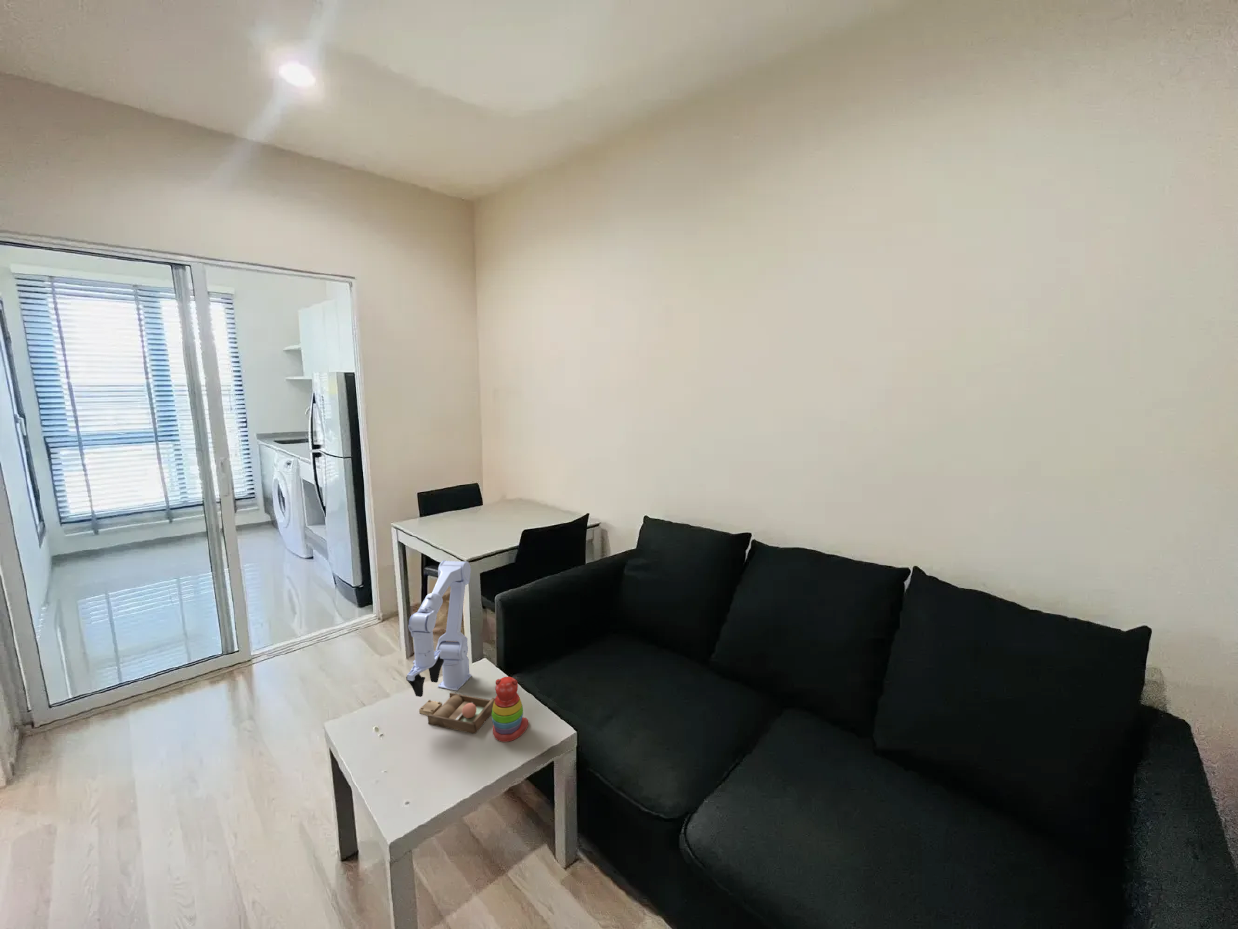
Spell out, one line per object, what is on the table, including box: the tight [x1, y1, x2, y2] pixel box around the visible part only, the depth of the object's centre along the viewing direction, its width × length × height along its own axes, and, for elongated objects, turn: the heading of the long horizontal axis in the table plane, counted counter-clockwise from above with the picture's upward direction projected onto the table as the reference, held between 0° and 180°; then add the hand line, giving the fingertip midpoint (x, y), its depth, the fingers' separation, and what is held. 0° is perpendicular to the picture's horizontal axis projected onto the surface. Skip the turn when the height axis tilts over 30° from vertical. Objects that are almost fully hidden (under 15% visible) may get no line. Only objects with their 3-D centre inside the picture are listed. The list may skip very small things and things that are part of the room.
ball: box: [462, 703, 476, 718], centre depth 158 cm, size 4×4×4 cm
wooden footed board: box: [419, 699, 443, 716], centre depth 162 cm, size 5×5×2 cm
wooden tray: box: [427, 692, 496, 735], centre depth 159 cm, size 12×17×7 cm
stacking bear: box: [491, 676, 530, 743], centre depth 151 cm, size 11×10×18 cm
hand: (427, 688), depth 157 cm, fingers open, 7 cm apart
